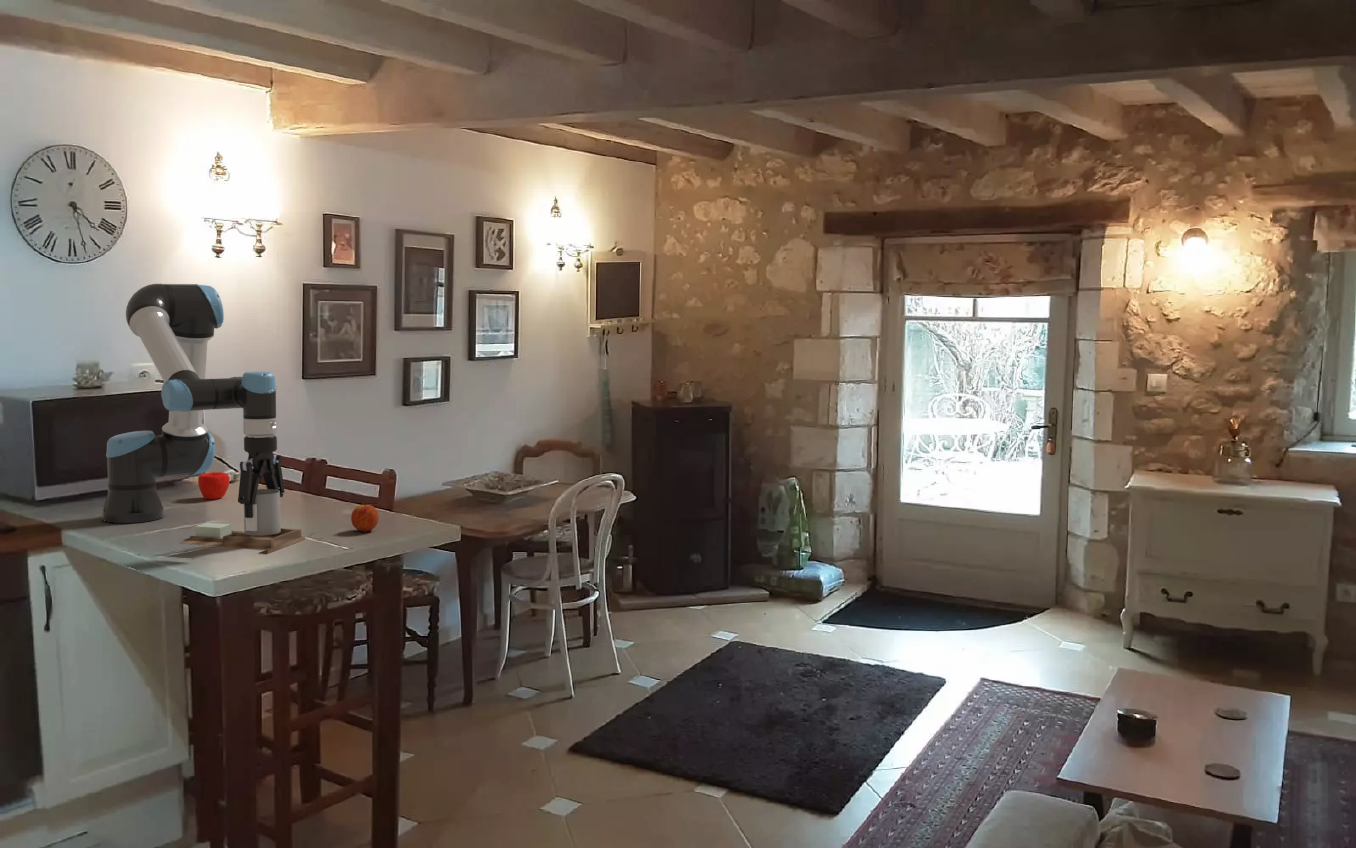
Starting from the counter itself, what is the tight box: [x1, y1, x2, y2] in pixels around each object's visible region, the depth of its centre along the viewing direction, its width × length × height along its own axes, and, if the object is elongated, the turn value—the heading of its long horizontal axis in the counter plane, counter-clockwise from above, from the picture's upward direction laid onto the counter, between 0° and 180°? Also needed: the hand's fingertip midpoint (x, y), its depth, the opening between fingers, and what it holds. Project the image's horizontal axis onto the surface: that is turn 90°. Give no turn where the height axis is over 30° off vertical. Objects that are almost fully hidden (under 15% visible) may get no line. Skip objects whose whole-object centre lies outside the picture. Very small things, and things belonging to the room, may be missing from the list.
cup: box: [243, 488, 282, 536], centre depth 266 cm, size 8×8×10 cm
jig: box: [180, 527, 306, 555], centre depth 268 cm, size 24×16×3 cm, turn 77°
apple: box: [197, 471, 230, 501], centre depth 326 cm, size 9×9×8 cm
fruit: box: [350, 500, 380, 533], centre depth 285 cm, size 7×7×8 cm
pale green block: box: [194, 522, 232, 538], centre depth 270 cm, size 7×4×3 cm, turn 77°
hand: (262, 526), depth 267 cm, fingers closed on cup, 8 cm apart
